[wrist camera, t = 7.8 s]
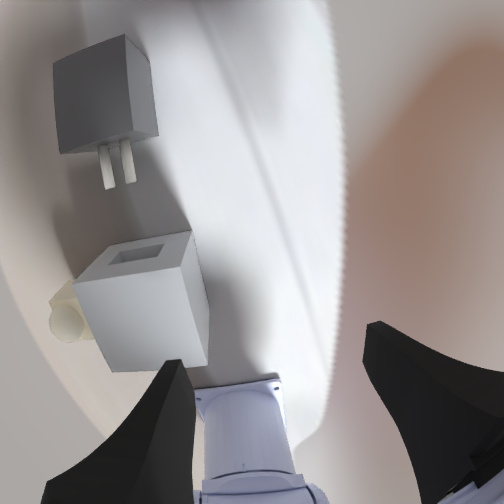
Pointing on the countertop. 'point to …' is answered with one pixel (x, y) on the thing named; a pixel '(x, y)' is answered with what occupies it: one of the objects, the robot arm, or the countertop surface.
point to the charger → (104, 103)
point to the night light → (68, 316)
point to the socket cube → (147, 303)
